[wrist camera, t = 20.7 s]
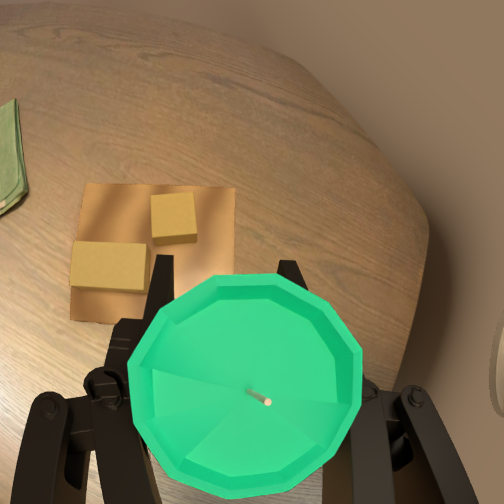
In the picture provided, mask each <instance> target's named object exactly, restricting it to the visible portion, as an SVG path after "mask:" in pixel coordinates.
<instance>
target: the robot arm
mask: <svg viewBox="0 0 504 504" xmlns="http://www.w3.org/2000/svg"><path fill="white" fill-rule="evenodd" d="M277 274H279V275H280V276H282V277H284V278H286V279H288V280H289V281H291V282H293V283H295V284H297V285H298V286H300V287H302V288H304V289H306V290H307V291H308V288H307V286H306V284H305V281H304V279H303V277H302V274H301V272H300V270H299V267H298V265H297V263H296V261H293V260H280V261H279V266H278V270H277ZM173 300H174V255H164V254H157V256H156V260H155V264H154V268H153V273H152V277H151V281H150V286H149V290H148V295H147V300H146V304H145V309H144V314H143V319H132V318H121V319H120V320H119V321H118V323H117V324H116V325H115V326H114V328H113V332H112V336H111V340H110V343H109V349H108V351H107V355H106V359H105V364H104V366H103V367H99V368H95V369H94V370H92V371H91V372H89V373H88V375H87V376H86V377H85V379H84V384H83V387H84V389H85V391H86V393H87V395H86V396H82V397H76V398H69V399H65V398H64V397H63V396H61V395H60V394H58V393H56V392H48V391H47V392H44V393H41V394H40V395H38V396H37V397H36V398H35V399H34V401H33V403H32V405H31V409H30V412H29V416H28V419H27V423H26V427H25V430H24V434H23V438H22V442H21V447H20V451H19V455H18V460H17V465H16V470H15V475H14V481H13V487H12V494H11V501H10V504H85V503H86V490H87V480H88V470H89V462H90V454H91V451H94V450H95V452H96V460H97V466H98V472H99V478H100V484H101V489H102V494H103V499H104V504H162V501H161V498H160V494H159V491H158V487H157V484H156V480H155V476H154V473H153V469H152V465H151V461H150V457H149V453H148V448H147V444H146V443H145V441H144V440H143V438H142V437H141V435H140V433H139V432H138V430H137V429H136V427H135V425H134V424H133V416H132V408H131V399H130V389H129V378H128V366H127V362H128V360H129V359H130V357H131V355H132V354H133V352H134V350H135V349H136V347H137V345H138V344H139V342H140V340H141V339H142V337H143V335H144V334H145V332H146V331H147V329H148V327H149V326H150V324H151V322H152V321H153V319H154V318H155V316H156V314H157V313H158V311H159V310H160V309H161V308H162V307H164V306H165V305H167V304H168V303H170V302H172V301H173ZM322 504H479V503H478V500H477V497H476V495H475V493H474V490H473V487H472V485H471V483H470V480H469V478H468V476H467V473H466V471H465V469H464V466H463V464H462V462H461V460H460V457H459V455H458V453H457V451H456V449H455V447H454V444H453V442H452V440H451V438H450V436H449V434H448V432H447V430H446V428H445V426H444V424H443V422H442V420H441V418H440V416H439V414H438V412H437V410H436V408H435V406H434V404H433V402H432V400H431V398H430V396H429V395H428V393H427V392H426V391H425V390H424V389H422V388H421V387H419V386H415V385H409V386H407V387H405V388H404V389H403V390H402V392H401V393H398V392H389V391H383V390H379V388H378V387H377V386H376V385H375V383H373V382H371V381H370V380H367V379H366V378H365V377H364V375H363V372H362V399H361V407H360V409H359V411H358V413H357V415H356V417H355V419H354V421H353V423H352V424H351V426H350V428H349V430H348V432H347V434H346V436H345V437H344V439H343V441H342V443H341V445H340V446H339V448H338V450H337V452H336V453H335V455H334V456H333V457H332V458H331V459H329V460H328V461H327V462H326V463H325V464H323V483H322Z"/></svg>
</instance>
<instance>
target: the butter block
mask: <svg viewBox="0 0 504 504" xmlns="http://www.w3.org/2000/svg"><path fill="white" fill-rule="evenodd" d="M150 256H151V252H150V250H149V248H148V246H147V244H140V243H114V242H88V241H74V242H73V249H72V257H71V267H70V278H69V286H72V287H75V288H78V289H80V290H93V291H108V292H124V293H142V294H148V290H149V273H150Z"/></svg>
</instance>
